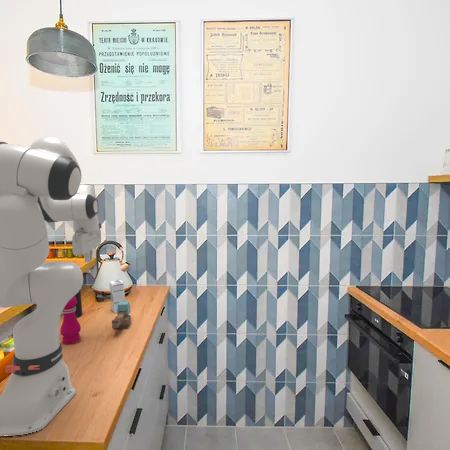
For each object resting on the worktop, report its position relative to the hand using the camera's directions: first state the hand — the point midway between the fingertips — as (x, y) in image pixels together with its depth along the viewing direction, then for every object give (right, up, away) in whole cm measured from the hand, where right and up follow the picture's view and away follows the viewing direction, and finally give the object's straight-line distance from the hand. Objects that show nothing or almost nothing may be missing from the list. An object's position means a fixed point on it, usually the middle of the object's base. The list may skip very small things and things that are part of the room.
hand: (88, 261), depth 124 cm
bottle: (-18, -29, +26) cm, 42 cm away
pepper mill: (-7, -32, +1) cm, 32 cm away
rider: (+9, -25, +16) cm, 31 cm away
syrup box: (+1, -28, +32) cm, 42 cm away
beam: (+9, -30, +13) cm, 34 cm away
